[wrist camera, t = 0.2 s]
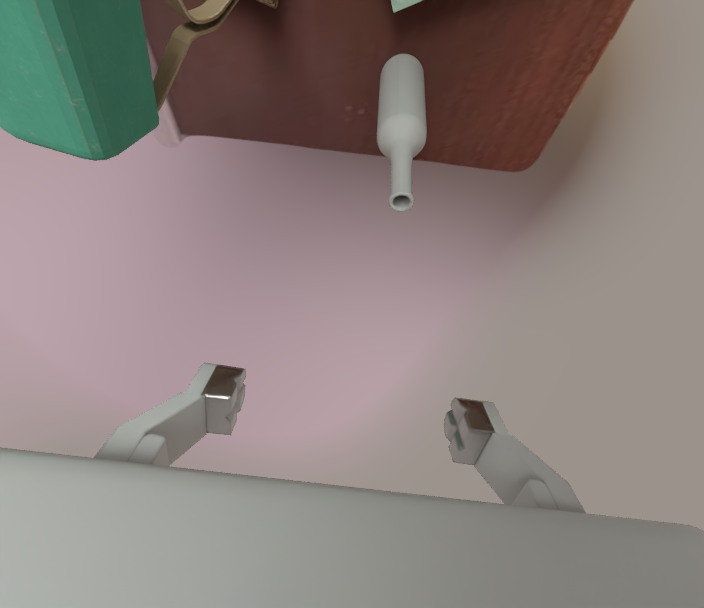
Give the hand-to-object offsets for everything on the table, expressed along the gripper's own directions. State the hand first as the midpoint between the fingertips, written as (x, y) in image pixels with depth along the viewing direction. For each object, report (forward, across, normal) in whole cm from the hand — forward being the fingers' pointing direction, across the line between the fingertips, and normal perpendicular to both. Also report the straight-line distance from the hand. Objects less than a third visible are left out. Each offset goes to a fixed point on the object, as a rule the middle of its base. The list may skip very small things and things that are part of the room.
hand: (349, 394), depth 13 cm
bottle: (+53, -5, -15) cm, 56 cm away
